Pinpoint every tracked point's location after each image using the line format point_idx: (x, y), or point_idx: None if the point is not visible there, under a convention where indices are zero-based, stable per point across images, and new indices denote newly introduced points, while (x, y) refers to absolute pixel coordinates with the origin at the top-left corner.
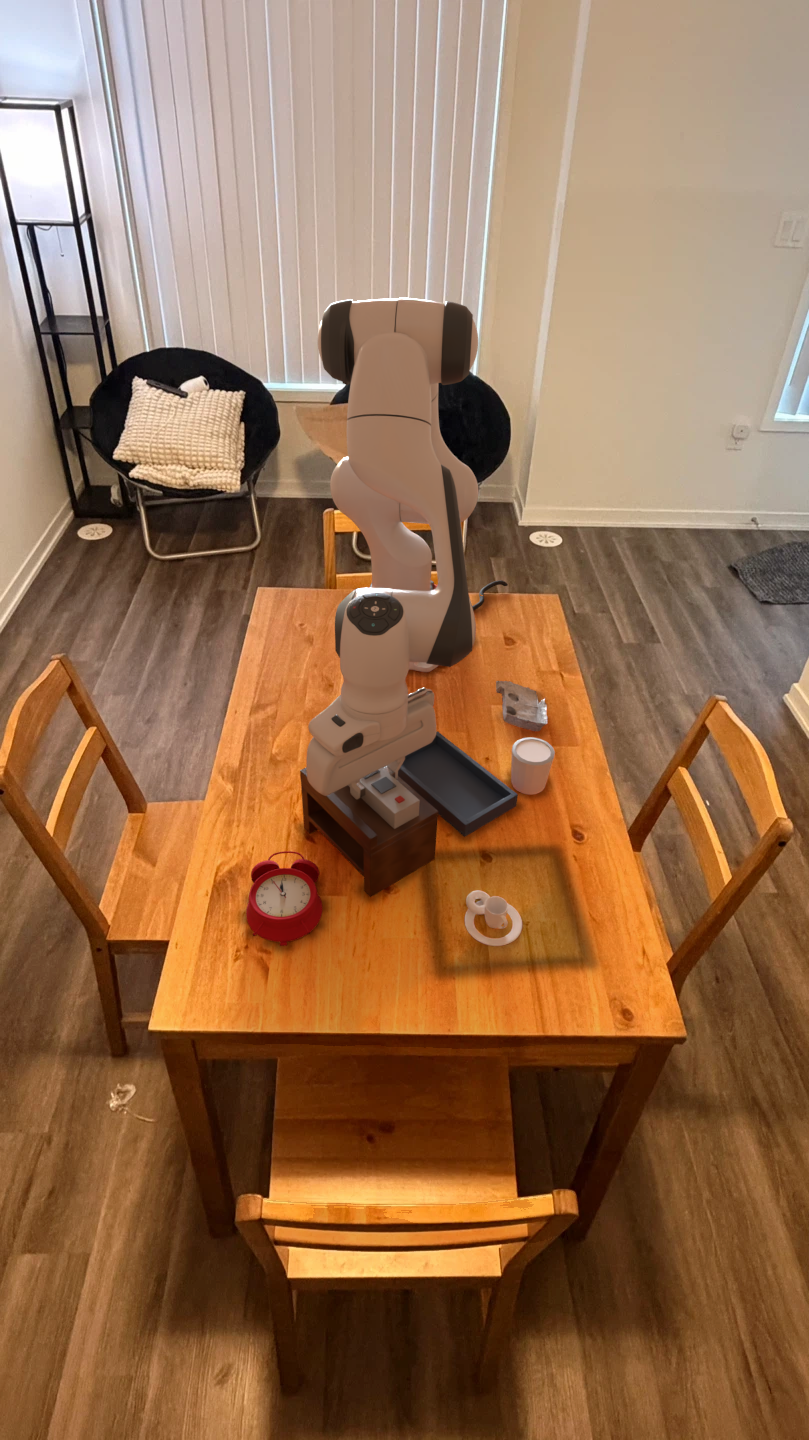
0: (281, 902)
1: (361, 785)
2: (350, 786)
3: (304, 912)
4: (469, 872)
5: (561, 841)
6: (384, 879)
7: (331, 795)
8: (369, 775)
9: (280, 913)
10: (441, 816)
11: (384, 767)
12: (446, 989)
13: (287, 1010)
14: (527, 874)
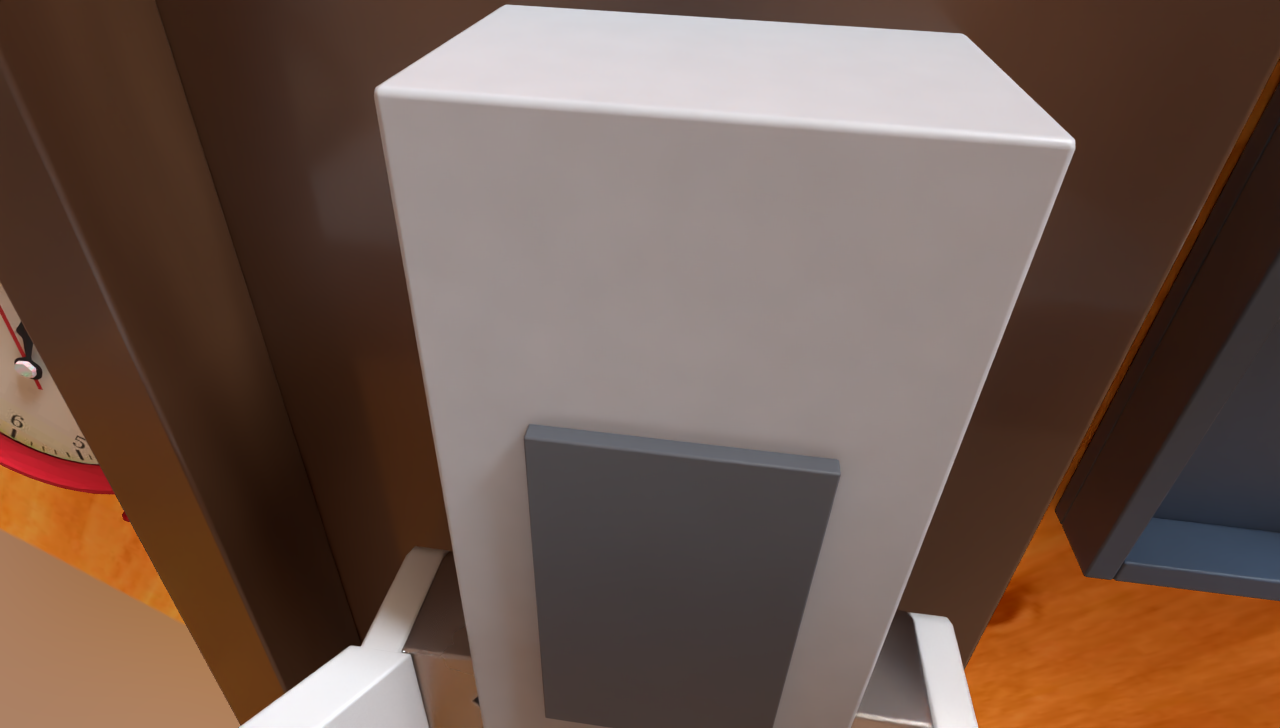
0: (21, 386)
1: (468, 705)
2: (370, 632)
3: (106, 492)
4: None
5: (1273, 723)
6: None
7: (174, 528)
8: (615, 722)
9: (9, 424)
10: (1128, 374)
11: (875, 724)
12: None
13: (71, 542)
14: (1016, 710)
